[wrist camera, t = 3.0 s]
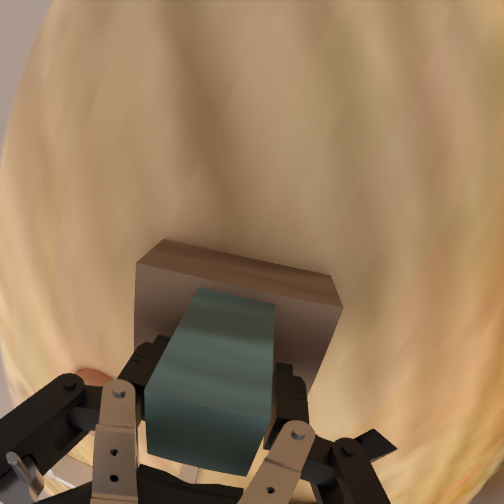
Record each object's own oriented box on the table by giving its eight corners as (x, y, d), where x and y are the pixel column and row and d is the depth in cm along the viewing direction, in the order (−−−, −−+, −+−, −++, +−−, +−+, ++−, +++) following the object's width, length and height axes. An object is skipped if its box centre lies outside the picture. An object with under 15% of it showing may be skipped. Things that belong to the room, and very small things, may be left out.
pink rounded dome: (70, 358, 22) (52, 379, 19) (131, 381, 22) (117, 406, 19) (79, 403, 24) (66, 423, 21) (134, 424, 24) (123, 447, 21)
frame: (35, 399, 25) (18, 421, 21) (199, 461, 25) (191, 493, 21) (59, 455, 29) (48, 475, 25) (191, 504, 29) (186, 528, 25)
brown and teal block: (163, 238, 18) (50, 342, 8) (330, 275, 18) (380, 418, 8) (156, 335, 20) (84, 459, 10) (298, 367, 20) (305, 511, 10)
